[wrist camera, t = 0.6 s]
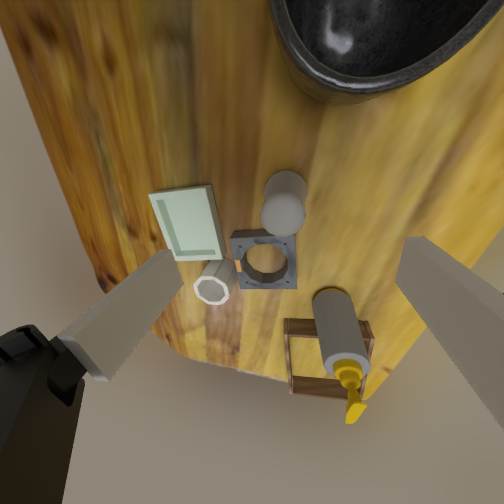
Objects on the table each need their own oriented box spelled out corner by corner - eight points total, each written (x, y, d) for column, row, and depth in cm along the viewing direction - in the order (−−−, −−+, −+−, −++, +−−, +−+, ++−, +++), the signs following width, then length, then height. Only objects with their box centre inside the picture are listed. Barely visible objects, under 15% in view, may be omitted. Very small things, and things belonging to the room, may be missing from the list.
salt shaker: (275, 214, 31) (266, 255, 20) (259, 180, 29) (239, 204, 18) (311, 198, 29) (324, 234, 18) (297, 160, 27) (301, 173, 16)
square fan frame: (234, 231, 34) (229, 239, 31) (294, 227, 32) (294, 235, 29) (243, 279, 39) (240, 289, 36) (296, 278, 36) (297, 289, 34)
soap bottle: (308, 310, 40) (318, 418, 24) (315, 282, 36) (333, 387, 21) (344, 316, 39) (378, 432, 23) (355, 288, 35) (405, 403, 20)
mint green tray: (157, 190, 33) (148, 194, 31) (211, 184, 31) (205, 187, 29) (179, 254, 38) (173, 261, 36) (226, 252, 36) (222, 259, 34)
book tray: (284, 318, 42) (283, 334, 38) (367, 320, 38) (374, 338, 35) (289, 376, 51) (289, 393, 48) (356, 383, 48) (361, 401, 44)
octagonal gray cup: (203, 258, 38) (189, 276, 33) (234, 256, 37) (224, 276, 31) (211, 283, 41) (199, 304, 35) (239, 283, 39) (231, 304, 34)
